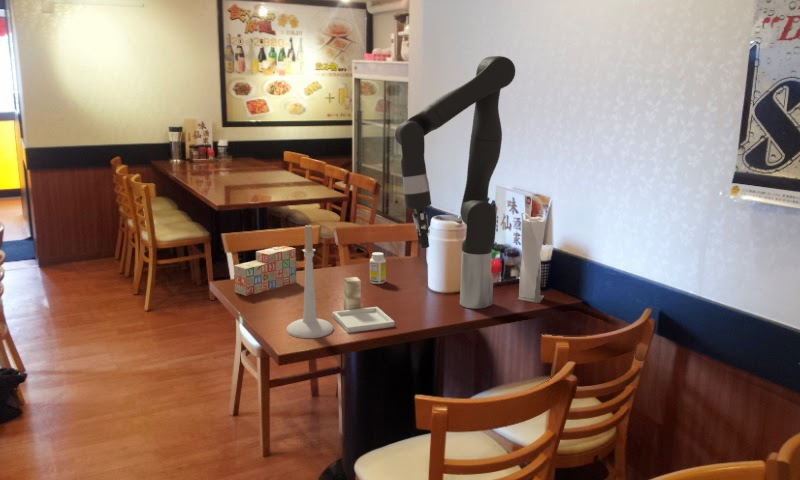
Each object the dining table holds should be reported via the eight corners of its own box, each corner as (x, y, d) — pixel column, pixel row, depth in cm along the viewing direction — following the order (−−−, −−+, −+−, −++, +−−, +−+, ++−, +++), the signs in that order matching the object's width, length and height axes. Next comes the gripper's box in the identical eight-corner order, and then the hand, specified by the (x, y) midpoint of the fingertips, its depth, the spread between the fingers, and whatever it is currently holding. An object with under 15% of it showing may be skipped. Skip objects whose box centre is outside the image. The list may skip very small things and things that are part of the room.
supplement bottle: (384, 279, 237) (384, 251, 235) (386, 284, 232) (387, 255, 230) (368, 280, 236) (368, 251, 234) (370, 284, 231) (370, 255, 229)
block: (356, 308, 207) (356, 276, 204) (360, 312, 203) (360, 280, 201) (343, 309, 205) (343, 278, 203) (347, 313, 201) (347, 281, 199)
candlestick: (335, 336, 183) (335, 228, 176) (287, 339, 181) (285, 229, 174) (330, 320, 195) (329, 218, 189) (285, 323, 193) (283, 220, 186)
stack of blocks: (246, 296, 216) (245, 259, 214) (234, 292, 220) (233, 256, 217) (296, 282, 233) (296, 247, 230) (284, 279, 236) (283, 244, 234)
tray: (377, 311, 204) (377, 306, 204) (394, 326, 191) (394, 321, 191) (332, 316, 199) (332, 311, 198) (347, 332, 186) (347, 327, 186)
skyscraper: (513, 299, 217) (518, 214, 211) (518, 292, 225) (523, 209, 218) (539, 303, 214) (545, 216, 208) (544, 296, 222) (550, 212, 215)
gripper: (432, 190, 189) (439, 247, 192) (426, 187, 203) (433, 240, 206) (405, 194, 189) (413, 251, 191) (402, 190, 203) (409, 243, 205)
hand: (423, 245), depth 199 cm, fingers open, 8 cm apart
